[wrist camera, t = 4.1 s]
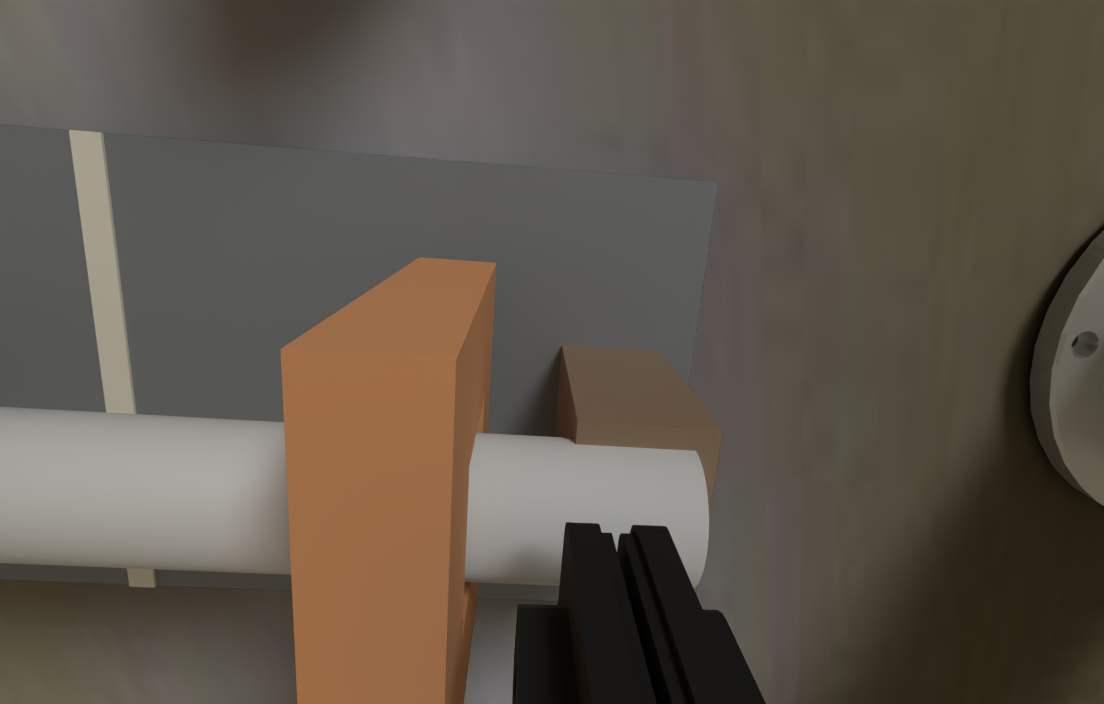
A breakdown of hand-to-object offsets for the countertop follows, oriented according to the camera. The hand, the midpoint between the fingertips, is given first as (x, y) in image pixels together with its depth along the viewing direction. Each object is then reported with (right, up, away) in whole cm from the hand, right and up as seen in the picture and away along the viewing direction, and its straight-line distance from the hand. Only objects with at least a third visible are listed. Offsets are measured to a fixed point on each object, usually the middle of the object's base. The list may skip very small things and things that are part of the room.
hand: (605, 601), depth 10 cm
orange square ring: (-4, +2, +7) cm, 8 cm away
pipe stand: (-10, +3, +9) cm, 14 cm away
